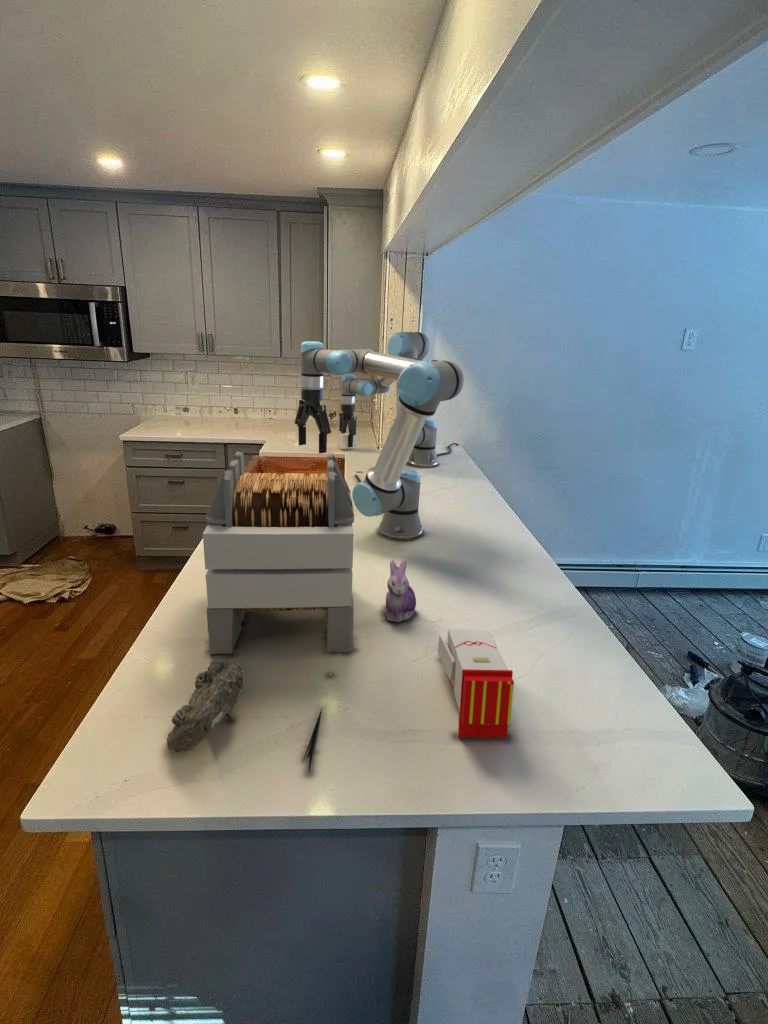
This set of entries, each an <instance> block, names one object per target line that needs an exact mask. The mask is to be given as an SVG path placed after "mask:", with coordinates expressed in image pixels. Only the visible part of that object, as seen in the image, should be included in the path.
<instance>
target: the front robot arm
mask: <svg viewBox="0 0 768 1024" xmlns="http://www.w3.org/2000/svg"><path fill="white" fill-rule="evenodd" d="M324 347H325V346H324V343H323V342H321V341H314V340H313V341H311V340H310V341H309V340H307V341H306V340H305V341H303V342H302V343H301V347H300V372H301V373H300V387H301V390H300V398H301V399H299V400H298V407H297V412H296V415H295V417H294V425H296V426H297V429H298V430H297V431H298V434H297V435H298V446H305V445H307V422H308V420H309V418H310V417H312V419H314V421H315V424H316V427H317V429H318V431H319V433H318V454H325V453H326V454H327V453H328V451H327V449H328V447H327V445H328V444H327V443H328V435H329V434H332V429H331V425H330V422H329V421H330V420H329V417H328V413H327V405H326V404H321V402H322V401H323V400H324V389H323V388H324V373H326V374H329V375H333V376H342V375H345V374H352V373H362V374H367V375H370V376H371V375H372V376H376V377H379V376H380V377H385V378H389V379H393V380H398V383H397V388H398V389H399V390H398V394H399V398H398V401H399V403H400V405H401V406H400V409H399V411H398V413H397V412H396V416H395V418H394V419H395V420H394V419H393V423H392V425H391V426H392V428H391V427H390V428H391V430H390V429H389V430H390V432H389V431H388V434H387V437H386V439H385V442H384V444H383V446H382V449H381V451H380V454H379V456H378V458H377V461H376V463H375V466H374V467H371V468H369V469H368V470H367V472H366V475H365V477H364V479H363V481H361V479H360V478H359V476H358V474H354V477H355V478H356V480H357V483H356V484H355V485H354V486H353V489H352V495H351V498H352V502H353V505H354V507H355V508H356V510H357V511H358V512H359V513H360V514H361V515H363V516H364V517H368V518H371V517H378V516H380V515H382V514H383V515H382V519H381V522H379V526H378V533H379V534H380V535H381V536H382V537H385V538H387V539H389V540H395V541H410V540H415V539H418V538H420V537H421V536H422V535H423V525H422V524H421V518H420V515H419V507H420V506H419V505H420V494H421V493H420V492H421V474H420V472H418V471H416V470H414V469H411V468H406V467H405V466H406V465H407V463H408V459H409V456H410V454H411V451H412V449H413V447H414V445H415V443H416V441H417V438H418V436H419V434H420V432H421V430H422V427H423V425H424V423H425V421H426V419H428V418H431V417H432V416H434V415H435V413H436V412H437V409H438V407H439V405H440V403H441V402H445V401H450V400H452V399H454V398H456V397H458V395H459V394H461V392H462V390H463V388H464V385H465V374H464V371H463V370H462V368H461V367H460V366H459V365H458V364H457V363H455V362H454V361H452V360H439V359H432V360H430V361H428V360H427V361H426V360H421V361H420V360H415V359H410V358H404V357H399V356H394V355H389V353H383V352H376V351H374V350H373V349H370V348H360V349H359V348H358V349H325V348H324Z"/></svg>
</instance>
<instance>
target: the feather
mask: <svg viewBox="0 0 768 1024" xmlns="http://www.w3.org/2000/svg"><path fill="white" fill-rule="evenodd" d="M329 675H330V676H331V675H332V674H331V673H330V674H329ZM322 710H323V707H321V708H320V710H319V713H318V716H317V719H316V723H315V725H314V728H313V731H312V733H311V737H310V739H309V742H308V745H307V748H306V751H305V754H304V757H303V760H302V763H301V767H302V765H303V763H304V761H305V758H308V759H309V760H308V762H307V763H308V764H307V766H308V771H310V770H311V766H312V765H311V764H312V760H313V757H315V756H314V755H315V751H316V749H315V746H317V739H318V733H319V729H320V722H321V717H322V712H323V711H322ZM313 754H314V755H313ZM306 755H307V757H306Z"/></svg>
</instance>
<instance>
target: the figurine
mask: <svg viewBox="0 0 768 1024" xmlns="http://www.w3.org/2000/svg"><path fill="white" fill-rule="evenodd" d="M407 567H408V559H406V558H404V559H403V560H402V561H401V563H400V565H399V566H398V565H397V563H396V562H395V561H394V560H393V559H391V560H390V561H389V570H390V576H389V578H388V579H387V589H388V591H387V592H386V594H385V595H386V596H385V607H384V615H385V616H386V620H387V621H391V622H395V623H400V622H402V621H406V620H409V619H410V618H411V617H413V616H414V615H415V610H416V606H417V597H416V593H415V591H414V590H413V587H411V586H410V582H409V579H408V577H407V574H406V571H407Z"/></svg>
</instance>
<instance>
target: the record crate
mask: <svg viewBox="0 0 768 1024" xmlns="http://www.w3.org/2000/svg"><path fill="white" fill-rule="evenodd" d="M244 455H245V454H244V451H242V452H241V451H236V452H235V454H234V456H233V458H232V459H230V463H229V465H228V467H227V469H226V470H224V473H223V475H222V478H221V479H220V482H219V484H218V487H217V489H216V491H215V494H214V495H213V497H212V500H211V502H210V505H209V507H208V509H207V511H206V515H205V523H206V524H207V525H206V527H205V529H204V531H203V533H202V543H203V558H204V569H205V570H206V573H205V584H206V587H205V588H206V598H207V599H206V601H207V607H206V623H207V634H208V641H209V642H208V643H209V650H208V653H209V655H216V654H217V655H218V654H221V655H222V654H223V655H226V654H227V655H228V654H230V655H231V654H232V653H233V650H234V648H235V647H236V643H237V641H238V638H239V636H240V634H241V630H242V626H241V625H242V623H241V622H243V621H244V618H245V615H246V612H272V611H273V612H279V611H280V612H284V611H286V612H288V611H289V612H291V611H292V612H293V611H294V612H295V611H303V612H304V611H322V610H323V611H326V636H327V637H326V641H327V645H326V646H327V652H329V653H330V652H332V653H333V652H343V653H349V652H351V651H352V650H354V617H355V616H354V614H355V607H354V598H353V575H354V573H353V566H354V563H353V562H354V537H355V536H354V535H355V532H354V527H353V524H354V522H355V511H354V506H353V505H354V504H353V498H352V495H351V489H350V487H349V485H348V483H347V480H346V479H345V476H344V474H343V472H342V470H341V467H340V465H339V463H338V461H337V459H336V457H335V455H334V453H333V452H326V456H327V457H326V468H327V469H326V473H320V474H318V473H307V474H306V473H303V472H302V473H299V472H298V473H297V472H294V473H293V472H292V473H291V472H290V473H288V472H283V473H276V472H273V473H271V472H263V473H262V472H259V473H258V472H253V473H252V472H245V468H246V467H245V456H244Z"/></svg>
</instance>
